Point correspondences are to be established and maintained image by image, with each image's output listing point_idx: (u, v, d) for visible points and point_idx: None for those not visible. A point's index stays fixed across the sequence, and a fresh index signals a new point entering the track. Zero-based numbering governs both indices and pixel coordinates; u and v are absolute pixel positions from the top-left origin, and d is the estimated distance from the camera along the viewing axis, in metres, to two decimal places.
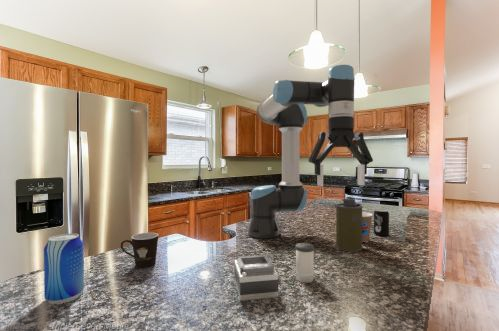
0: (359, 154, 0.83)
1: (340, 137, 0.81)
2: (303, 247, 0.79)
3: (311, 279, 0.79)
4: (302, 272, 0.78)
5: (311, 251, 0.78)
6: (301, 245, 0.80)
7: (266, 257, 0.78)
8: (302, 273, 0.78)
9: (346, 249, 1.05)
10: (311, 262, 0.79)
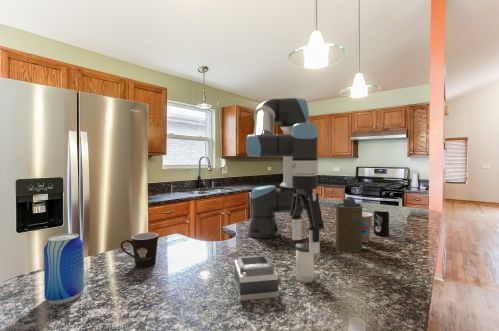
0: (308, 217, 0.75)
1: (297, 196, 0.81)
2: (303, 247, 0.79)
3: (311, 279, 0.79)
4: (302, 272, 0.78)
5: None
6: (301, 245, 0.80)
7: (266, 257, 0.78)
8: (302, 273, 0.78)
9: (346, 249, 1.05)
10: (311, 262, 0.79)
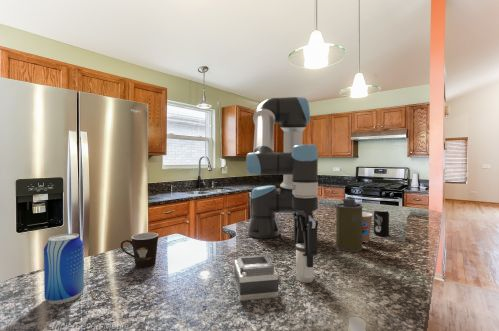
0: (304, 241, 0.77)
1: (297, 216, 0.81)
2: (303, 247, 0.79)
3: (311, 279, 0.79)
4: (302, 272, 0.78)
5: None
6: (301, 245, 0.80)
7: (266, 257, 0.78)
8: (302, 273, 0.78)
9: (346, 249, 1.05)
10: None
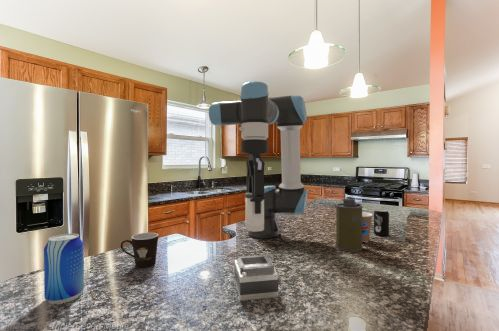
0: (252, 187, 0.71)
1: (247, 162, 0.75)
2: (252, 194, 0.72)
3: (260, 228, 0.73)
4: (250, 221, 0.72)
5: None
6: (251, 193, 0.74)
7: (266, 257, 0.78)
8: (250, 221, 0.72)
9: (346, 249, 1.05)
10: None
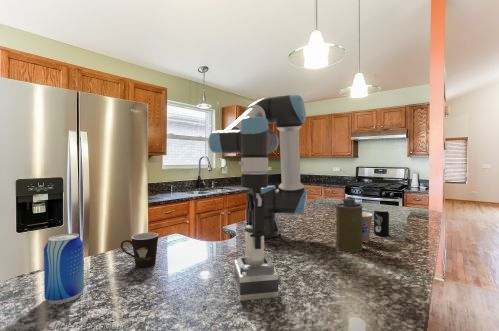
0: (252, 221, 0.71)
1: (247, 195, 0.75)
2: None
3: (260, 262, 0.73)
4: (250, 255, 0.72)
5: None
6: (251, 226, 0.75)
7: (266, 257, 0.78)
8: (250, 256, 0.72)
9: (346, 249, 1.05)
10: None
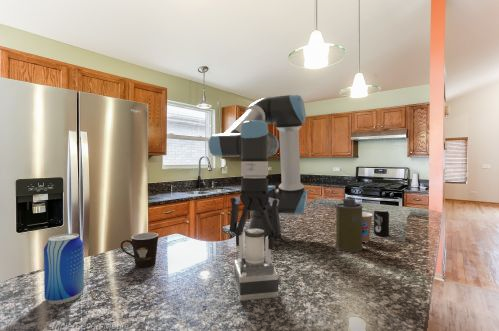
0: (265, 224, 0.72)
1: (248, 200, 0.73)
2: (259, 232, 0.73)
3: None
4: (260, 259, 0.73)
5: None
6: (253, 232, 0.74)
7: None
8: (260, 260, 0.73)
9: (346, 249, 1.05)
10: None
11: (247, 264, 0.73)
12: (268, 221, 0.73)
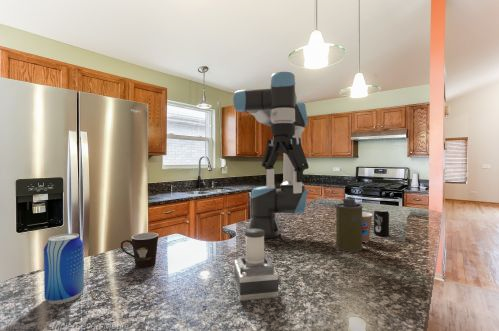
0: (291, 160, 0.79)
1: (275, 144, 0.84)
2: (259, 232, 0.73)
3: None
4: (260, 259, 0.73)
5: None
6: (253, 232, 0.74)
7: (266, 257, 0.78)
8: (260, 260, 0.73)
9: (346, 249, 1.05)
10: None
11: (247, 264, 0.73)
12: (294, 157, 0.79)
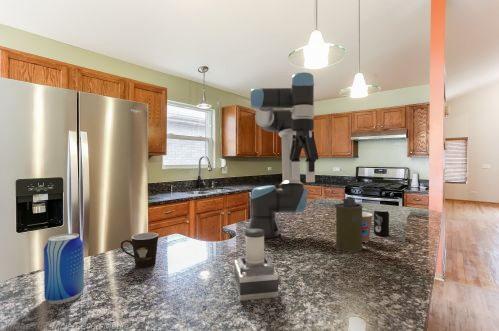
0: (305, 152, 0.87)
1: (295, 138, 0.93)
2: (259, 232, 0.73)
3: None
4: (260, 259, 0.73)
5: None
6: (253, 232, 0.74)
7: (266, 257, 0.78)
8: (260, 260, 0.73)
9: (346, 249, 1.05)
10: None
11: (247, 264, 0.73)
12: None
